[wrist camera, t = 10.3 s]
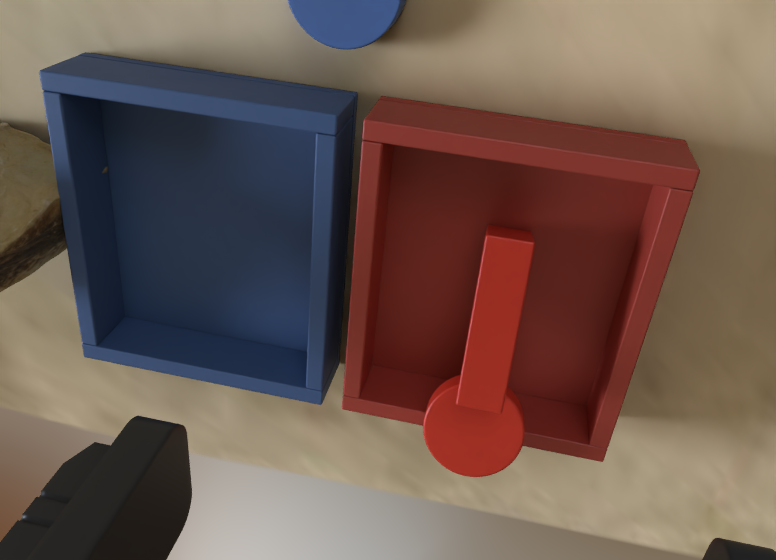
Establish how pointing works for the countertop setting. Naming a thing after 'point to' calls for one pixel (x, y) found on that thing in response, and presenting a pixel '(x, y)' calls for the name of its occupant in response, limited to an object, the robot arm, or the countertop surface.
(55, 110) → the blue tray
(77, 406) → the countertop surface
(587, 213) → the red tray
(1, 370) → the countertop surface
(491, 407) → the red spoon
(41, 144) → the rock
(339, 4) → the blue spoon
